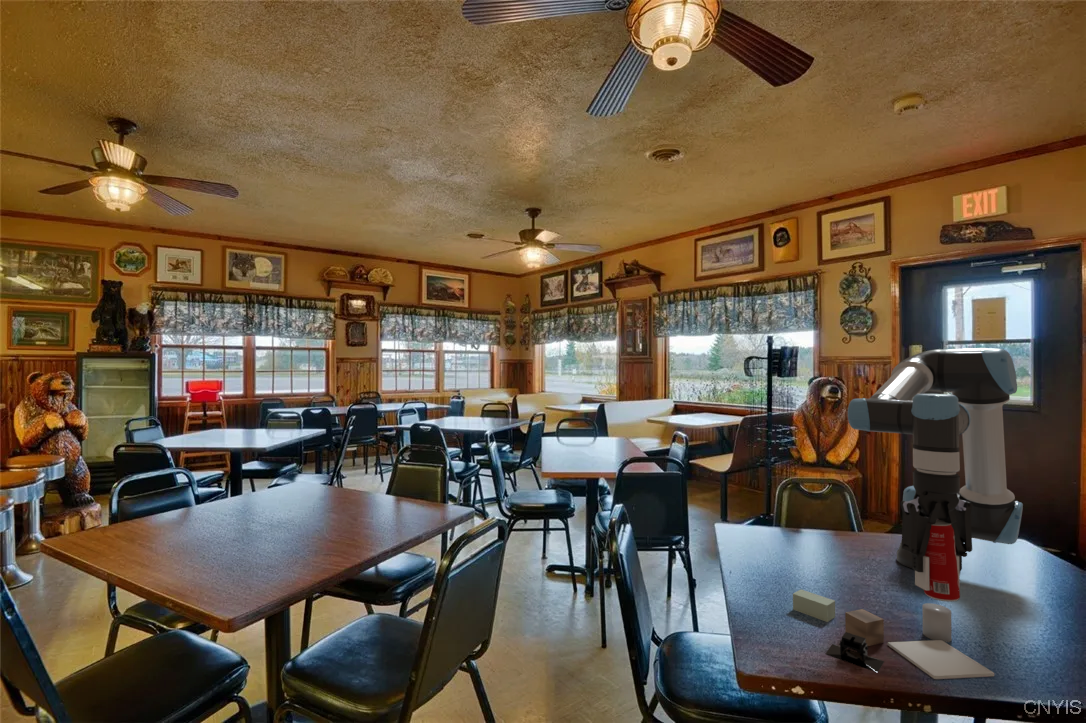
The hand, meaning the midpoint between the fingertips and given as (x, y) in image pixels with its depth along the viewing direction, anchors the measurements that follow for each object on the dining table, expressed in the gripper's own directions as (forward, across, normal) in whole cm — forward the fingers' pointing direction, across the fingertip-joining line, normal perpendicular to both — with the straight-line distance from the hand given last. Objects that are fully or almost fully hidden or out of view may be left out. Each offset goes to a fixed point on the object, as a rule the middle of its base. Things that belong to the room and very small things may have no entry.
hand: (937, 586), depth 104 cm
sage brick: (+15, +13, -21) cm, 29 cm away
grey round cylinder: (+15, -7, -9) cm, 18 cm away
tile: (+15, 0, 0) cm, 15 cm away
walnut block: (+15, +9, -9) cm, 19 cm away
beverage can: (+2, 0, 0) cm, 2 cm away
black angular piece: (+15, +16, -2) cm, 22 cm away
